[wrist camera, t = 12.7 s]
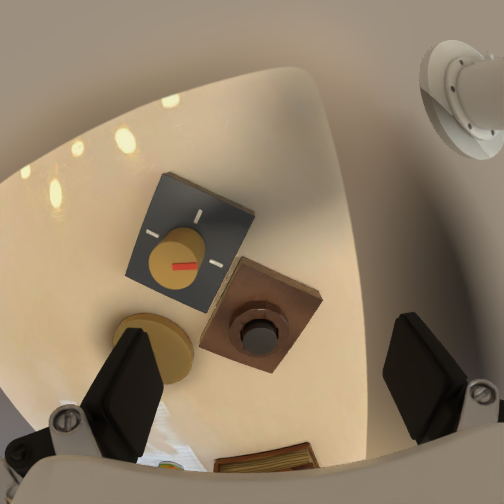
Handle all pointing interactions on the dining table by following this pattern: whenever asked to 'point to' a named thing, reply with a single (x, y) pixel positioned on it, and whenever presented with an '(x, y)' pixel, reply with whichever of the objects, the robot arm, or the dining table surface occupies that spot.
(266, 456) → the diary
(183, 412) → the dining table surface
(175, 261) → the dimmer knob
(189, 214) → the dimmer panel
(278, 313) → the switch block
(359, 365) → the dining table surface
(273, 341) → the power button
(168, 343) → the lamp
